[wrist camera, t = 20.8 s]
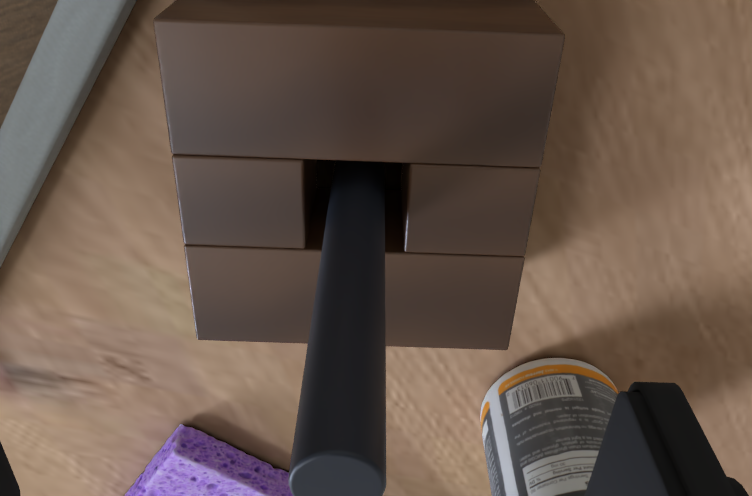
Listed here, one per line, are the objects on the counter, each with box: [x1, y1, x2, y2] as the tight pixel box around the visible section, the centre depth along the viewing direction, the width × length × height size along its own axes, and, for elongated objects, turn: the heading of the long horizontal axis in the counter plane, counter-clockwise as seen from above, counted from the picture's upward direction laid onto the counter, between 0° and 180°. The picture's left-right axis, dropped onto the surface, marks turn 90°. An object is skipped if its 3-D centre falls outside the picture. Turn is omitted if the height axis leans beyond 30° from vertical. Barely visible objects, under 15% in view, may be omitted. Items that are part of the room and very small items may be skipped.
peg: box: [288, 160, 386, 496], centre depth 16 cm, size 2×2×13 cm
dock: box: [153, 0, 565, 350], centre depth 20 cm, size 10×10×4 cm
